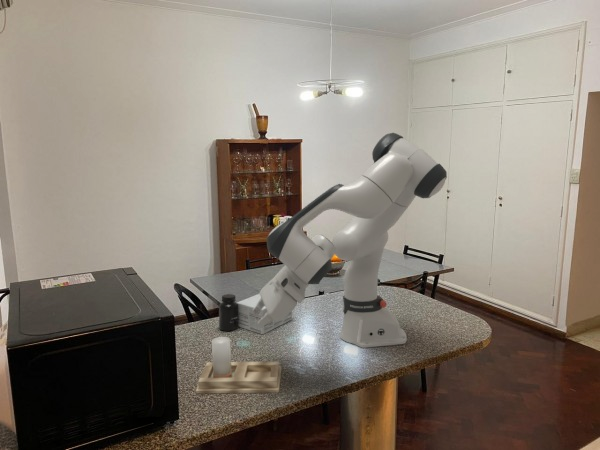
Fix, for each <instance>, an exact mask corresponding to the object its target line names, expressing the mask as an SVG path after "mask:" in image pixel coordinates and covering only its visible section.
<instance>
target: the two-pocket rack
mask: <svg viewBox="0 0 600 450" xmlns="http://www.w3.org/2000/svg"><path fill="white" fill-rule="evenodd" d="M231 369H232V378H213V361H212V362H211V361H210V362H209V361H208V362H206V364H205V366H204V369H203V371H202V373H201V375H200V376H199V379H198V381H197V384H198V385H197V387H196V389H195V394H258V393H259V394H262V393H263V394H271V393H272V394H275V393H276V394H278V393H279V392H280V385H281V375H282V365H281V366H280V361H231Z"/></svg>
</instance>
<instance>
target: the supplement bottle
mask: <svg viewBox="0 0 600 450" xmlns="http://www.w3.org/2000/svg"><path fill="white" fill-rule="evenodd" d="M218 309H219V310H218V326H219V327H218V328H219V329H220V331H225V332H230V331H234V330H235V331H236V330H237V329H238V304H237V302H236V295H235V294H230V293H226V294H223V295H221V302H220V303H219V305H218Z"/></svg>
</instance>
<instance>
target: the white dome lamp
mask: <svg viewBox="0 0 600 450" xmlns="http://www.w3.org/2000/svg"><path fill="white" fill-rule="evenodd" d="M231 350H232V349H231V338H230V337H227V336H218V337H217V336H216V337H214V338H213V339H211V351H212V362H213V378H232V369H231V362H232V356H231V355H232V354H231V353H232V352H231Z"/></svg>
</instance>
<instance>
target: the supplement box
mask: <svg viewBox="0 0 600 450" xmlns="http://www.w3.org/2000/svg"><path fill="white" fill-rule="evenodd" d="M260 299H261V296H260V294H259V293H257V294H255V295H252V296H250V297H248V298H244V299H242V300H240V301H237V302H236V303H237V304H238V327H240V328H241V329H243V330H244V329H245V330H248V331H250V332H254V333H256V334H257V333H258V334H261V335H264V334H266V333H268V332H270V331H272V330H274V329H276V328H277V327H280V326H282V325H284V324H286V323H288V322H290V321H292V320H293V310H292V311H291V312H290V313H289V314H288V315H287V316H286V317H285V318H284V319H283V320H281V321H279V322H276V321H275V320H274V319H272V321H270V322H268V323H267V324H265V325H264V326H263V327H262V328H260V327H259V326H258V325H257V321H258V320H259V319H260V318H262V317H264V316H265V314H266V313H267V309H266V307H265V306H264V307H263V308H262V309H261V312H260V313H259V314H258V315H255V314H254V313H253V311H252V310H253V309H254V308H255V307H256V305H257V303H258V301H259V300H260Z"/></svg>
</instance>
